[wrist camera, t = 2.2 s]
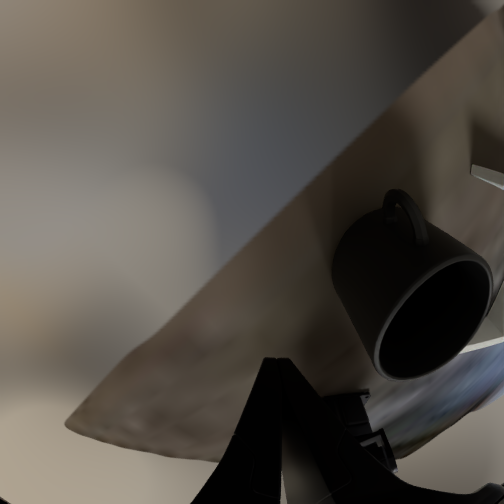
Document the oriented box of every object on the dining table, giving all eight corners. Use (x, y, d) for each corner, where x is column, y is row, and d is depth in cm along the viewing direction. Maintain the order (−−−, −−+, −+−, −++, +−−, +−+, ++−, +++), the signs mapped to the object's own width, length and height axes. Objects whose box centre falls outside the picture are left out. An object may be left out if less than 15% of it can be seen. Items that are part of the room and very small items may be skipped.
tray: (487, 322, 25) (504, 341, 21) (418, 331, 24) (437, 358, 20) (531, 196, 18) (556, 208, 14) (472, 164, 17) (506, 174, 13)
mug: (415, 160, 17) (500, 186, 9) (428, 284, 22) (481, 342, 14) (306, 196, 18) (354, 248, 10) (342, 322, 23) (376, 400, 15)
